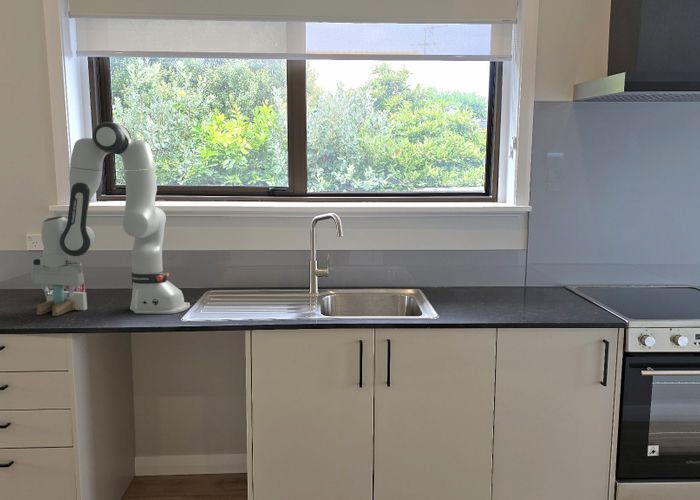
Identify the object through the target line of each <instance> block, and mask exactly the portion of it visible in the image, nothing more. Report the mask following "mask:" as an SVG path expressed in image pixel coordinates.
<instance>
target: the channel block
mask: <svg viewBox="0 0 700 500" xmlns="http://www.w3.org/2000/svg"><path fill="white" fill-rule="evenodd" d="M74 309H75V301H74V300H66V299H64V302H62V303H60V304H57V305H54V299H53V300H50V301H47V300H46V301H44V302H42V303H38V304H36V315H39V316H40V315H41V316H42V315H44V314H47V313H50V312H52V316H60V315H63V314H66V313H68V312H71V311H73V310H74ZM74 311H75V310H74Z"/></svg>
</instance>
